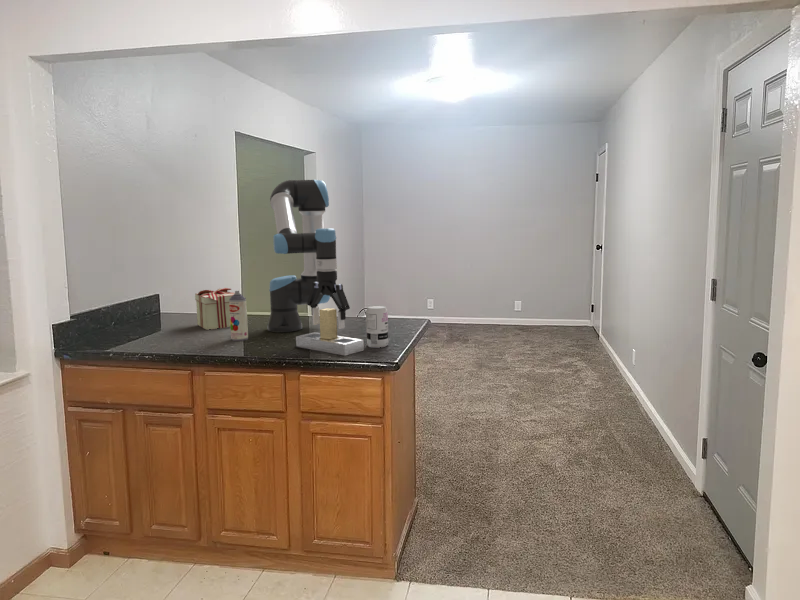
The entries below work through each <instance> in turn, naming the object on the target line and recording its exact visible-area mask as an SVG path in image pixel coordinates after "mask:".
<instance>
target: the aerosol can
mask: <svg viewBox="0 0 800 600" xmlns="http://www.w3.org/2000/svg"><path fill="white" fill-rule="evenodd" d="M234 293H235V294H234V295H233V296H232V297H231V298H230V299H229V310H230V327H229V328H230V337H231V338H230V340H231V341H232V340H233V342H243V341H247V340H249V330H248V327H249V326H248V310H247V309H248V308H247V299H246V297H245V296H244V295H243V294H241V293H240V290H234Z"/></svg>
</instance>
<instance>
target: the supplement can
mask: <svg viewBox="0 0 800 600" xmlns="http://www.w3.org/2000/svg"><path fill="white" fill-rule="evenodd" d="M388 311H389V310H388V309H387V306H386V305H369V306H368V307H367V309H366V311H365V320H366V321H365V323H366V327H365V328H366V330H365V331H366V345H367V346H368V347H369V348H374V349H375V348H376V349H378V348H379V349H380V347H381V348H385V347H387V346H388V345H389V322H388V321H389V319H388V317H389V314H388V313H389V312H388Z"/></svg>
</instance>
